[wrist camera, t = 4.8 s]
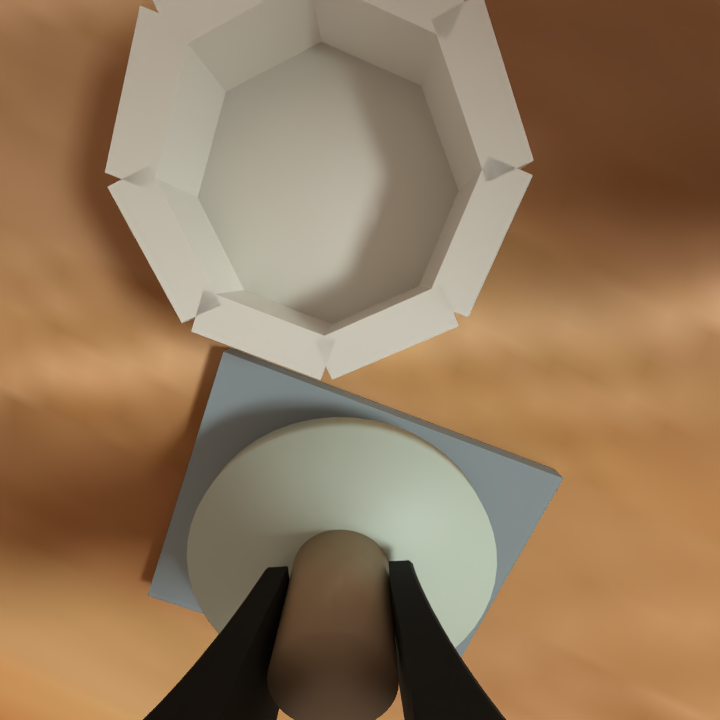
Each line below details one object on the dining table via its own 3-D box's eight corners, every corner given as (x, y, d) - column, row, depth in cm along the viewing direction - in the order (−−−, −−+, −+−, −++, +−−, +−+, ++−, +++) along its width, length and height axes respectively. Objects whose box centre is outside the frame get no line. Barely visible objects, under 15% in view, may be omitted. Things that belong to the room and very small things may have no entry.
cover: (494, 410, 11) (564, 489, 7) (483, 659, 13) (531, 818, 10) (174, 423, 11) (75, 506, 7) (219, 665, 14) (163, 823, 10)
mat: (554, 469, 13) (563, 478, 13) (439, 674, 15) (442, 690, 15) (230, 347, 12) (223, 351, 12) (156, 582, 15) (147, 595, 14)
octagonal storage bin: (532, 102, 11) (595, 37, 8) (408, 384, 13) (422, 418, 10) (230, -33, 10) (174, -159, 7) (149, 285, 12) (79, 289, 9)
